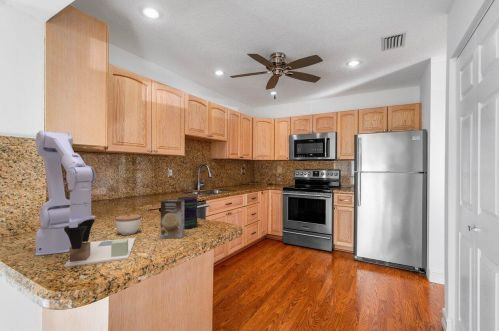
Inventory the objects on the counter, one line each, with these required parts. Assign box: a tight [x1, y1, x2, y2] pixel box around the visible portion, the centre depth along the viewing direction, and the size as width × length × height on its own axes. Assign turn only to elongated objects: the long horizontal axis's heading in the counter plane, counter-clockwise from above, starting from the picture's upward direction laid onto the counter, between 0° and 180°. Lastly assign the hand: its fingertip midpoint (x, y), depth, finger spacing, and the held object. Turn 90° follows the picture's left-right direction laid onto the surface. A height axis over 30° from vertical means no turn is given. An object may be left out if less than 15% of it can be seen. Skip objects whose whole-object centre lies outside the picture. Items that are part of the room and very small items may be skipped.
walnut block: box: [69, 241, 91, 262], centre depth 77 cm, size 4×4×4 cm
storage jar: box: [177, 196, 198, 230], centre depth 121 cm, size 10×10×15 cm
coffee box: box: [159, 198, 185, 239], centre depth 105 cm, size 9×6×16 cm
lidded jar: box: [114, 212, 142, 236], centre depth 110 cm, size 11×11×9 cm
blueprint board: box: [63, 237, 136, 268], centre depth 86 cm, size 18×24×1 cm
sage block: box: [111, 237, 129, 257], centre depth 81 cm, size 4×4×4 cm
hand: (80, 245), depth 77 cm, fingers open, 7 cm apart
